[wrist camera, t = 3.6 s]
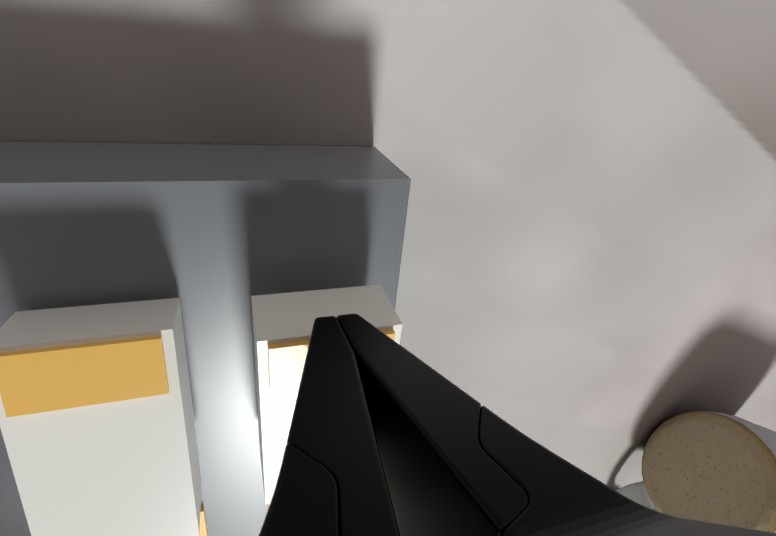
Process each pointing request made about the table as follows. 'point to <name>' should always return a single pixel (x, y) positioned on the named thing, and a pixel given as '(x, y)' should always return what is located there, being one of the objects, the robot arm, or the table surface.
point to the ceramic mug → (710, 471)
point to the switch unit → (196, 265)
